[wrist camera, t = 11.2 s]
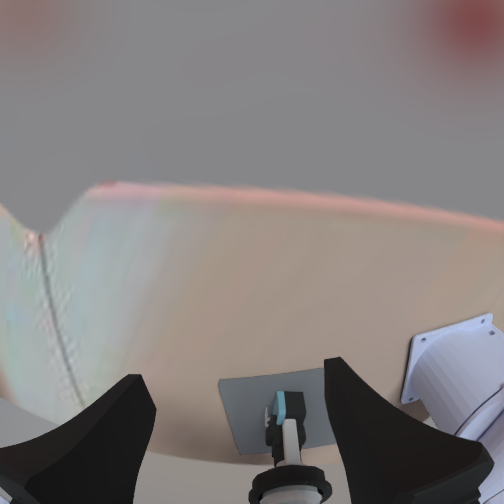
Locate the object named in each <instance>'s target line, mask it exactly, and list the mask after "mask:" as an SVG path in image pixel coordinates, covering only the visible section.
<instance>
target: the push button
mask: <svg viewBox="0 0 504 504" xmlns="http://www.w3.org/2000/svg"><path fill="white" fill-rule="evenodd" d="M305 417H306V406H305V400H304V395H303V392H291V391H277V392H276V399H275V403H274V408H273V412H272V415H271V417H270V418H268V417H267V407H266V410H265V427H267V429H266V432H265V438H266V445H267V446H271V447H272V457H273V458H274V468H271V469H269V470H268V471H265V472H263V473H260V474H258V475H257V476H256V477H255V479H254V480H253V482H252V489H251V491H250V492H249V502H250V504H321V503H323V502H325V501H326V500H327V499H328V498H329V497H330V496H331V495H332V487H331V484H330V483H329V482H328V481H326V480H325V476H324V471H323V470H321V469H319V468H317V467H315V466H307V465H305V464H303V463H302V461H301V453H300V451H301V449H302V446H303V445H304V443H305V442H306V433H305V427H304V425H303V423H304V420H305Z"/></svg>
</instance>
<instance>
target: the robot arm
mask: <svg viewBox="0 0 504 504" xmlns="http://www.w3.org/2000/svg"><path fill="white" fill-rule="evenodd" d="M492 319H493V315H492V314H491V313H487V314H484V315H481V316H478V317H475V318H472V319H469V320H466V321H463V322H460V323H457V324H453V325H450V326H447V327H443V328H440V329H436V330H433V331H429V332H426V333H422V334H418V335H416V336H414V337H413V339H412V343H411V349H410V356H409V362H408V367H407V373H406V378H405V383H404V388H403V392H402V397H401V402H402V404H407V403H410V402H413V401H416V400H420V399H421V401H422V402H423V404H424V406H425V408H426V409H427V411H428V413H429V414H430V416H431V418H432V419H433V421H434V423H435V425H436V426H437V428H438V430H437V429H435V428H433V427H430V426H428V425H426V424H424V423H422V422H420V421H418V420H416V419H414V418H412V417H411V416H409V415H407V414H406V413H404V412H402V411H401V410H399V409H398V408H396V407H395V406H393V405H392V404H391V403H389V402H388V401H387V400H385V399H384V398H383V397H382V396H380V395H379V394H378V393H377V392H376V391H374V390H373V389H372V388H371V387H370V386H369V385H368V384H367V383H366V382H364V381H363V380H362V379H361V378H360V377H359V376H358V375H357V374H356V373H355V372H354V371H353V370H352V369H351V368H350V366H349V365H348V364H347V363H346V362H345V361H344V360H343V359H342V358H341V357H336V358H330V359H325V360H324V398H325V403H326V408H327V413H328V418H329V421H330V425H331V428H332V431H333V434H334V437H335V440H336V442H337V445H338V448H339V451H340V454H341V457H342V460H343V464H344V467H345V471H346V476H347V481H348V486H349V492H350V497H351V503H352V504H504V333H503V332H501V331H500V330H499V329H498V328H497V327H495V326H494V325H493V324H492ZM423 338H424V339H423ZM422 339H423V340H422ZM156 410H157V409H156V407H155V405H154V403H153V400H152V398H151V396H150V394H149V392H148V389H147V387H146V385H145V383H144V380H143V378H142V375H141V374H128V375H127V376H125V377H124V378H123V379H121V380H120V381H119V382H118V383H116V384H115V385H114V386H113V387H112V388H111V389H109V390H108V391H107V392H106V393H105V394H103V395H102V396H101V397H100V398H99V399H97V400H96V401H95V402H94V403H93V404H91V405H90V406H89V407H87V408H86V409H85V410H83V411H82V412H81V413H79V414H78V415H77V416H75V417H74V418H72V419H71V420H69V421H68V422H66V423H64V424H63V425H61V426H59V427H58V428H56V429H54V430H52V431H50V432H48V433H45V434H43V435H41V436H39V437H37V438H34V439H32V440H29V441H26V442H23V443H20V444H16V445H12V446H8V447H4V448H0V487H1V488H2V489H3V490H4V491H6V492H7V493H8V494H9V495H10V496H11V497H12V498H13V499H12V500H11V502H9V501H8V500H7V499H6V498H4V497H2V496H1V495H0V504H133V498H134V492H135V486H136V481H137V476H138V472H139V469H140V466H141V463H142V460H143V457H144V455H145V452H146V449H147V446H148V443H149V440H150V437H151V434H152V431H153V427H154V422H155V416H156Z"/></svg>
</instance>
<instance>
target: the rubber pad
mask: <svg viewBox="0 0 504 504" xmlns="http://www.w3.org/2000/svg"><path fill="white" fill-rule="evenodd" d="M218 386H219V389H220V393H221V396H222V400H223V403H224V407H225V410H226V413H227V417H228V420H229V423H230V426H231V430H232V433H233V436H234V439H235V442H236V445H237V448H238V451H239V454H240V455H242V454H260V453H272V447H271V446H267V445H266V438H265V432H266V429H267V427H265V410H266V407H267V417H268V418H270V417H271V415H272V412H273V408H274V403H275V399H276V392H277V391H291V392H303V395H304V400H305V406H306V417H305V420H304V423H303V425H304V427H305V433H306V442H305V443H304V445H303V446H302V449H306V448H313V447H319V446H325V445H330V444H336V443H337V442H336V440H335V437H334V434H333V431H332V428H331V425H330V421H329V418H328V413H327V408H326V403H325V398H324V368H318V369H312V370H305V371H298V372H291V373H283V374H275V375H266V376H257V377H246V378H234V379H219V385H218Z"/></svg>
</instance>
